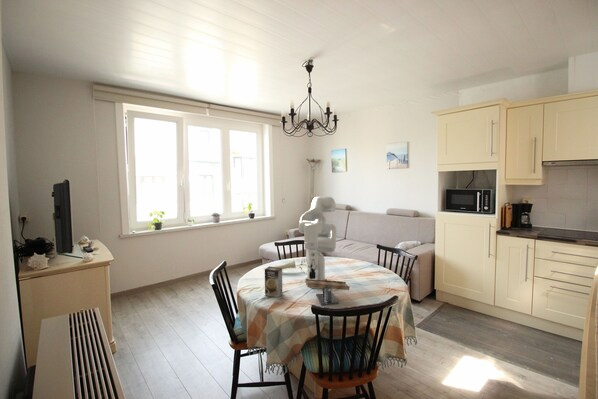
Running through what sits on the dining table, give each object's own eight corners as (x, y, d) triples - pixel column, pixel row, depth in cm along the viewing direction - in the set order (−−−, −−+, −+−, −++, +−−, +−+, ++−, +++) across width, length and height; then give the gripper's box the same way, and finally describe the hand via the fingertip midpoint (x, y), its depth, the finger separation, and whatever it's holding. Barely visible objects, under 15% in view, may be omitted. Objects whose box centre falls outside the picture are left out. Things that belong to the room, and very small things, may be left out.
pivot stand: (321, 305, 156) (320, 287, 156) (316, 295, 169) (315, 279, 168) (338, 303, 158) (338, 286, 157) (332, 294, 171) (332, 278, 170)
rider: (308, 279, 159) (310, 269, 159) (307, 276, 163) (308, 266, 163) (317, 280, 160) (318, 269, 159) (315, 277, 164) (317, 267, 164)
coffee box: (264, 295, 170) (264, 269, 169) (269, 291, 176) (268, 265, 175) (278, 297, 167) (277, 270, 166) (282, 293, 173) (282, 267, 172)
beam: (307, 287, 157) (308, 283, 157) (305, 282, 165) (305, 278, 165) (349, 290, 161) (349, 286, 161) (344, 285, 168) (345, 281, 168)
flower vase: (273, 281, 215) (318, 270, 215) (271, 282, 203) (318, 270, 203) (270, 265, 217) (314, 254, 217) (267, 265, 205) (314, 254, 206)
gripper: (321, 248, 152) (321, 282, 154) (314, 241, 169) (314, 271, 170) (307, 249, 151) (307, 283, 152) (302, 242, 168) (302, 272, 169)
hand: (311, 276), depth 161 cm, fingers closed on rider, 4 cm apart
